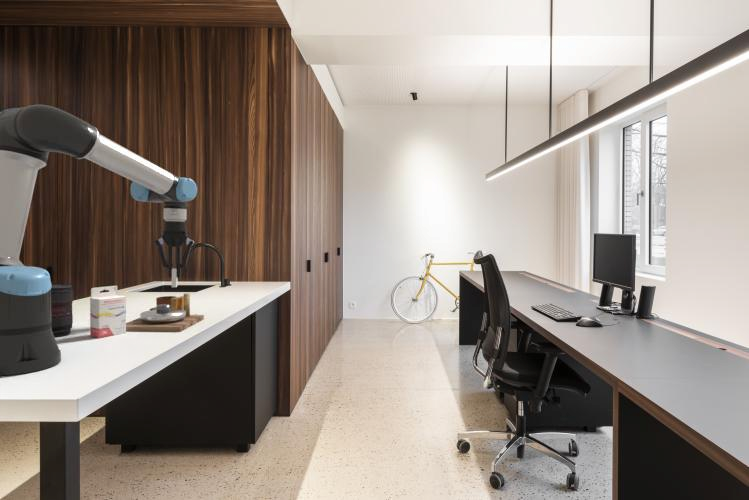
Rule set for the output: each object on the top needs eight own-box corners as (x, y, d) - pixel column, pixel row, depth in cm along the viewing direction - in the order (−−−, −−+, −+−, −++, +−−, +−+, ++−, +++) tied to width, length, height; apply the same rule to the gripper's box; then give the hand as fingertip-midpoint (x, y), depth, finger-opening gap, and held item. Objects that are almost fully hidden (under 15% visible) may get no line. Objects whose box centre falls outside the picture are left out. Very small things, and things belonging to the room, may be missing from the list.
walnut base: (180, 331, 145) (180, 302, 145) (117, 330, 145) (117, 301, 145) (203, 319, 165) (203, 293, 165) (148, 318, 165) (148, 292, 165)
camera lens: (57, 338, 134) (56, 288, 134) (34, 337, 136) (33, 287, 135) (80, 332, 142) (79, 284, 142) (58, 331, 144) (57, 283, 143)
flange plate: (166, 323, 147) (166, 305, 146) (130, 320, 150) (130, 302, 150) (201, 313, 164) (201, 297, 164) (168, 311, 168) (168, 295, 167)
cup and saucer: (190, 311, 181) (190, 296, 180) (170, 317, 169) (170, 300, 169) (164, 310, 183) (163, 294, 183) (142, 315, 172) (142, 299, 171)
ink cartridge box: (99, 338, 135) (98, 289, 135) (89, 336, 138) (89, 288, 137) (127, 333, 143) (126, 286, 142) (117, 331, 145) (117, 285, 144)
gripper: (152, 220, 157) (152, 288, 158) (193, 221, 161) (192, 287, 161) (157, 220, 165) (157, 285, 165) (195, 221, 168) (195, 285, 168)
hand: (174, 286), depth 163 cm, fingers closed
